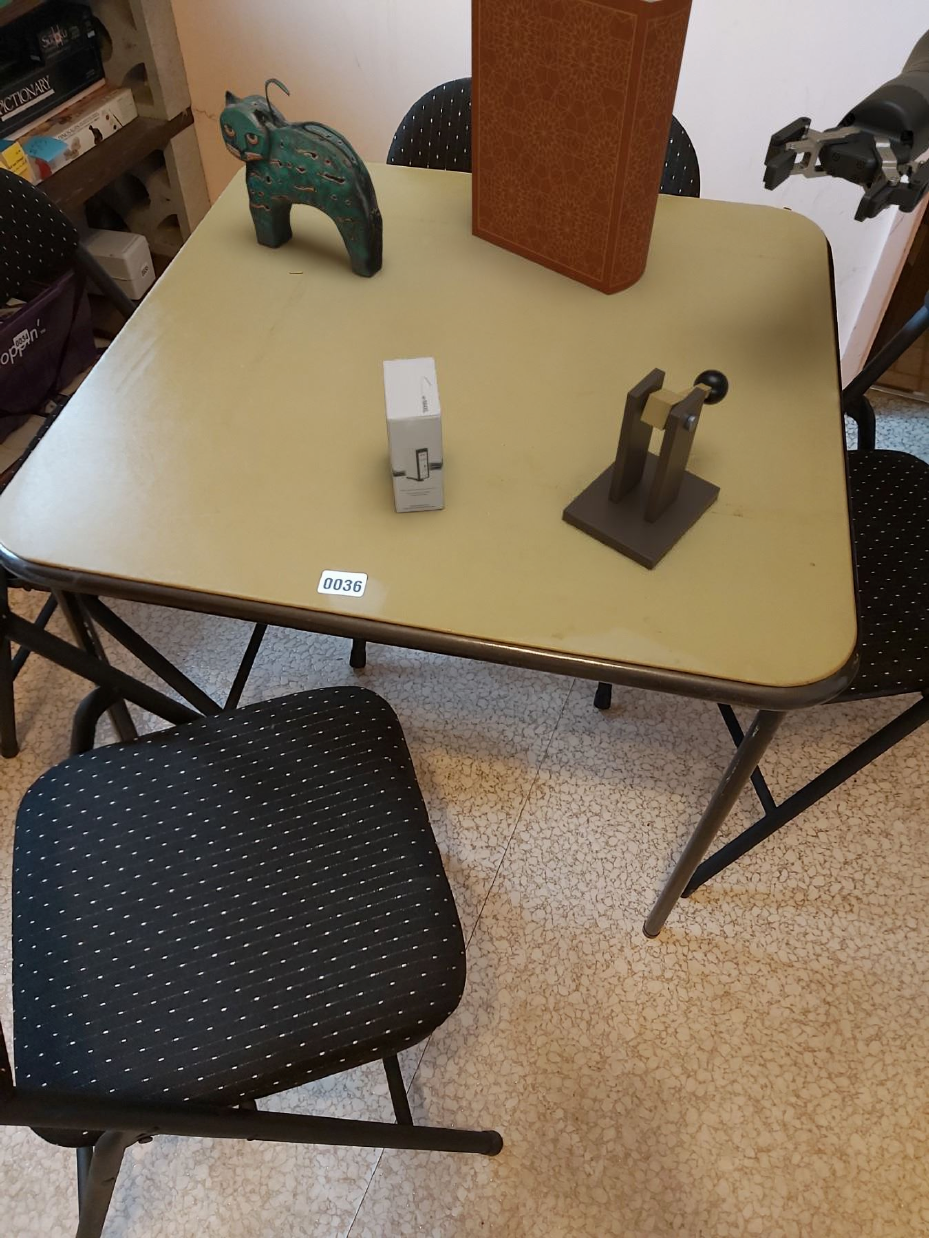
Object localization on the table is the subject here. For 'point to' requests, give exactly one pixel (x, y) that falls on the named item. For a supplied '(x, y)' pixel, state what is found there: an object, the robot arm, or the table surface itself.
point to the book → (573, 129)
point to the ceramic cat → (302, 176)
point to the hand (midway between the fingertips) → (814, 194)
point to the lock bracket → (646, 482)
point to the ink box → (414, 433)
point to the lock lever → (668, 400)
